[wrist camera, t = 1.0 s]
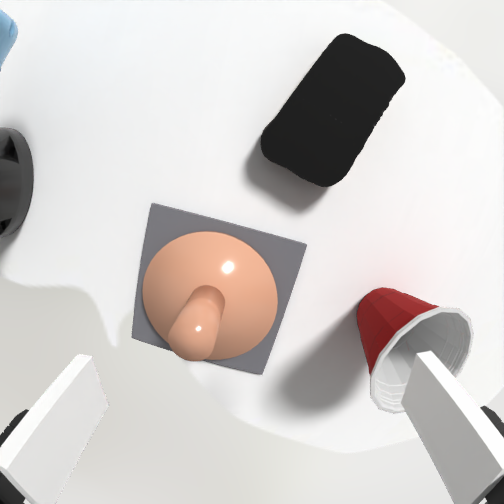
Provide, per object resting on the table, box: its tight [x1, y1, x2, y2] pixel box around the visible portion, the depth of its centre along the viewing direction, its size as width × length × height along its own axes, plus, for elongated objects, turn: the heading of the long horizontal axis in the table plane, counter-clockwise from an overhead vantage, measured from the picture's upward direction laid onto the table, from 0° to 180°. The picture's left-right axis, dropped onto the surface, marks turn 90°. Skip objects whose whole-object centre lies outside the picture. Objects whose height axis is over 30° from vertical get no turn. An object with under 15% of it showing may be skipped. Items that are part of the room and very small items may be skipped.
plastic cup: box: [357, 288, 474, 414], centre depth 25 cm, size 11×11×12 cm
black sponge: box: [261, 34, 406, 187], centre depth 25 cm, size 16×8×4 cm, turn 147°
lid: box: [142, 231, 278, 361], centre depth 26 cm, size 14×14×9 cm
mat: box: [132, 203, 307, 375], centre depth 31 cm, size 16×16×1 cm
